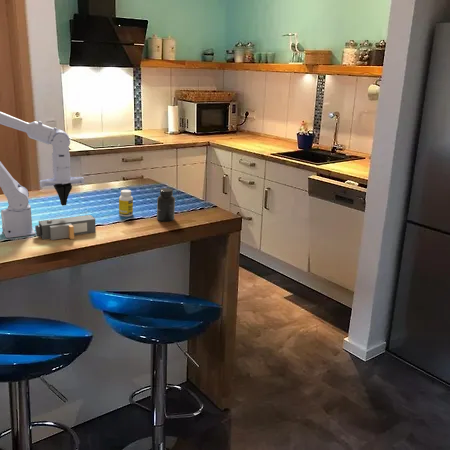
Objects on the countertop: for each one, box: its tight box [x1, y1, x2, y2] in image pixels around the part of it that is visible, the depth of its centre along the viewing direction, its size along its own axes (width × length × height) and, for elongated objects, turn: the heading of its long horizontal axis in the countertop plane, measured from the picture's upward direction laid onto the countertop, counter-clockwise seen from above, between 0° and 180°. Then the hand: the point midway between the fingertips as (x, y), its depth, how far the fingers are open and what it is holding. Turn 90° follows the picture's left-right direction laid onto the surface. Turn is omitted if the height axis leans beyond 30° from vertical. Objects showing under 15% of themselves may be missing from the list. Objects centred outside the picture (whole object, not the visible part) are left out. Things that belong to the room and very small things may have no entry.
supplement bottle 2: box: [156, 187, 176, 223], centre depth 192 cm, size 7×7×12 cm
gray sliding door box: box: [34, 214, 97, 241], centre depth 172 cm, size 19×5×6 cm, turn 122°
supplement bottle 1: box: [118, 189, 134, 218], centre depth 195 cm, size 5×5×10 cm
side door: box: [49, 223, 75, 241], centre depth 167 cm, size 7×4×4 cm, turn 122°
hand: (63, 204), depth 174 cm, fingers closed
